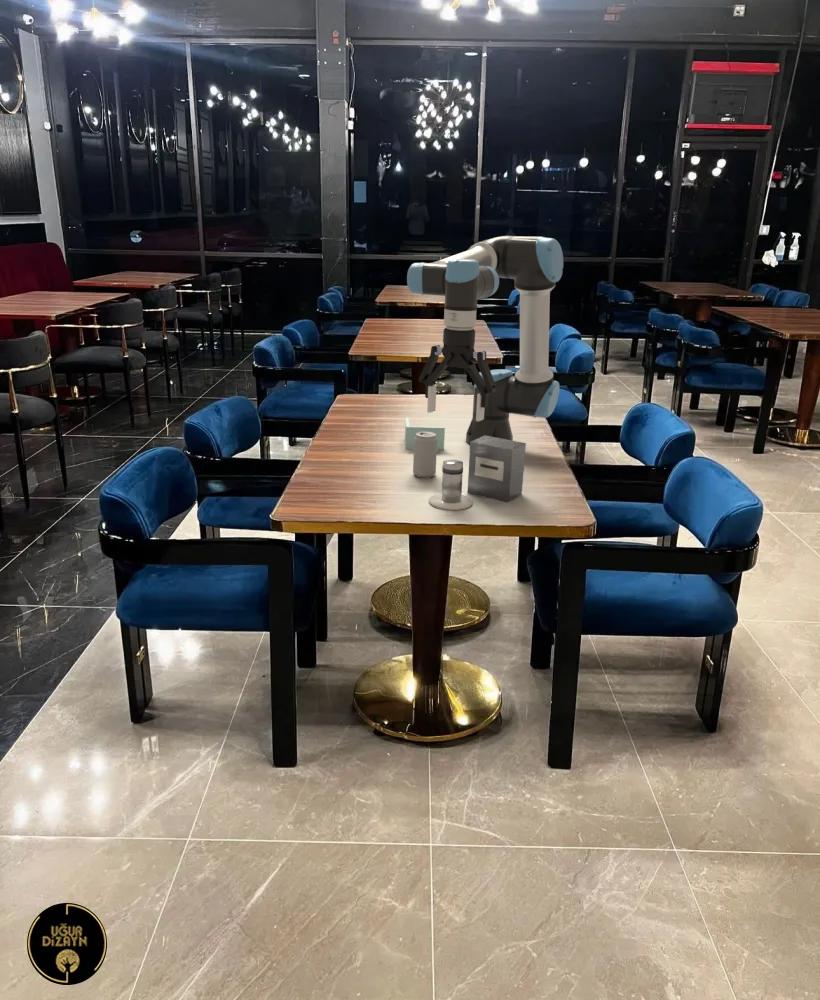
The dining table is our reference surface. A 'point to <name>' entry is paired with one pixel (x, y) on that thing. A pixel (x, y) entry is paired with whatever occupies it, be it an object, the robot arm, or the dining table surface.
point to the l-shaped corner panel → (411, 431)
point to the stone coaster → (438, 503)
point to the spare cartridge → (452, 481)
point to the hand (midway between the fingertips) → (455, 415)
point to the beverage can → (425, 454)
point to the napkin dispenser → (496, 468)
